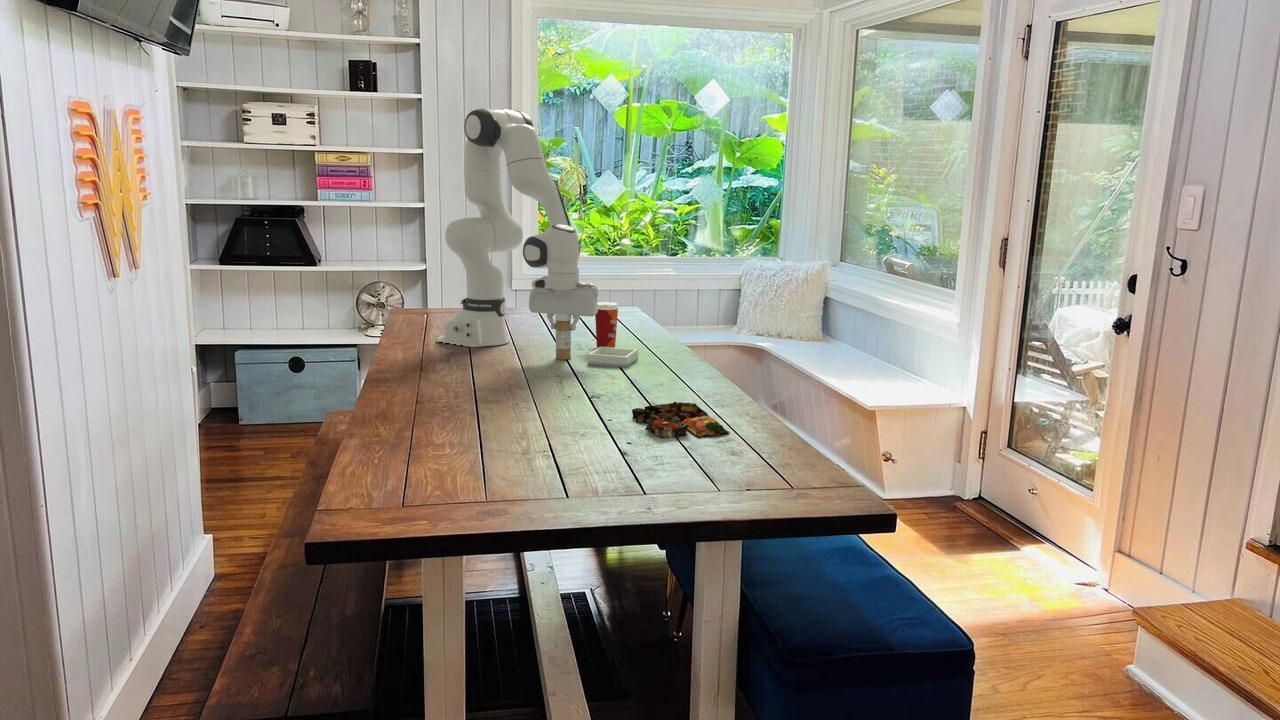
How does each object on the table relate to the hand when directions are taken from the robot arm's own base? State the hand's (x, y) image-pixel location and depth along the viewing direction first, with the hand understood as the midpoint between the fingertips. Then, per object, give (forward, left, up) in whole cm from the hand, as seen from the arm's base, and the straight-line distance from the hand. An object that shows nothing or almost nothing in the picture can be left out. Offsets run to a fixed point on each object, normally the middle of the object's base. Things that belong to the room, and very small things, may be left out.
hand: (563, 329), depth 268 cm
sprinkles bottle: (0, 0, -9) cm, 9 cm away
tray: (+15, +1, -9) cm, 17 cm away
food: (+48, -55, -9) cm, 74 cm away
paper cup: (+7, +19, -9) cm, 22 cm away
